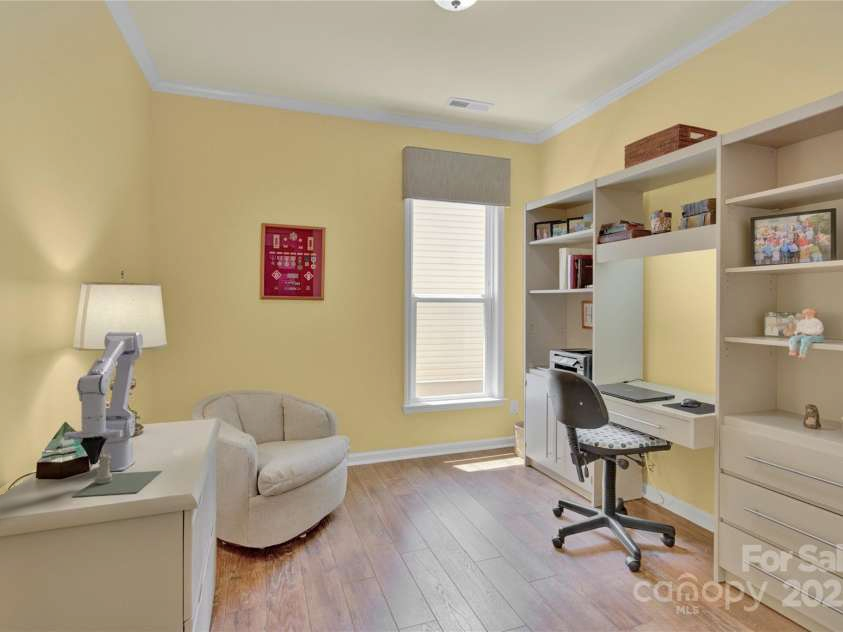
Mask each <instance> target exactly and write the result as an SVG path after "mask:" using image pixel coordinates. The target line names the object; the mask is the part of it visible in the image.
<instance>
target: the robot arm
mask: <svg viewBox="0 0 843 632" xmlns="http://www.w3.org/2000/svg"><path fill="white" fill-rule="evenodd" d="M143 345H144V340H143V335H142V333H141V332H140V331H133V332H132V331H127V332H125V331H124V332H122V331H120V332H118V331H117V332H116V331H115V332H112V331H109V332H107V333H106V335H105V336H104V347H105V349H104V352H103V354H102V356H101V357H99V358H97V359H96V360H95V361H94V363H93V364H92V366H91V367H90V369H89V370H88V372H87V374H85V375H83V376H81V377H79V379H78V380H77V386H76V391H77V394H78V398H79V399H78V400H79V402H81V430H77V431H67V432H65V433H63V437H64V438H63V439H64V440H63V441H70V440H82V441H81V442H80V441H79V442H80V446H81V447H82V448H83V450H84V451H85V453H86V456H87V458H88V460H89V464H90V466H91V465H97V464H99V461H100V460H99V459H98V457H99V456H100V454H103V453H104V455H106V453H110V456H111V458H110V460H109V461H110V463H109V470H110V472H117V471H125V470H126V469H128V468H129V467H130V466H132V465H133V464H135V463H136V462H137V459H134V442H133V440H132V437H133V436H134V435H135V431H136V416H135V413H133V412H132V411H131V410H129V409H128V403H129V398H130V392H131V388H132V386H131V385H132V381H133V374H134V368H135V364H136V361H137V360H139V359H141V356H142V351H143ZM115 362H117V364H116V363H115ZM114 372H115V376H114V381H113V387H112V392H111V397H110V402H109V403H110V404H109V408H107V407H106V404H107V403H106V401H107V399H106V394H107V393H108V392H109V389H110V384H111V378H112V375H113V374H114ZM106 408H107V409H106ZM98 470H99V468H98V469H96V470H95V471H96V473H98Z"/></svg>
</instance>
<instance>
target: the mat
mask: <svg viewBox="0 0 843 632" xmlns="http://www.w3.org/2000/svg"><path fill="white" fill-rule="evenodd" d="M162 472H163V471H162V470H153V471H152V470H151V471H136V472H135V471H134V472H133V471H131V472H122V473H121V472H115V473H111V474H112V477H111V478H112V481H111V482H109V483H106V484H96V483H95V482H94V481H93V482H91V483H90V484H88V485H87V486H86V487H84V488H82V489H81V490H80V491H77V493H74V494H73V495H72V496H71V497H72V498H83V497H84V498H85V497H97V496H98V497H99V496H113V495H114V496H115V495H129V494H131V495H132V494H138V493H139V492H140V491H142V489H144V488H145V487H146V486H147V485H149V484H150V482H151V483H152V481H153V480H154V479H156V477H157V476H159V475H160V474H161V473H162Z"/></svg>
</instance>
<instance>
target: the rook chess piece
mask: <svg viewBox="0 0 843 632" xmlns="http://www.w3.org/2000/svg"><path fill="white" fill-rule="evenodd" d="M110 458H111V456H110V453H106V455H104V453H103V454H102V453H100V456H99V457H98V459H99V460H98V465H99V466H98V469H99V470H98V469H97V470H98V472H96V475H95V476H94V481H93V482H95V483H96V484H106V483H109V482H111V481H112V478H111V477H112V474H113V473H112V471H110V470H109V463H110V461H109V460H110Z"/></svg>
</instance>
